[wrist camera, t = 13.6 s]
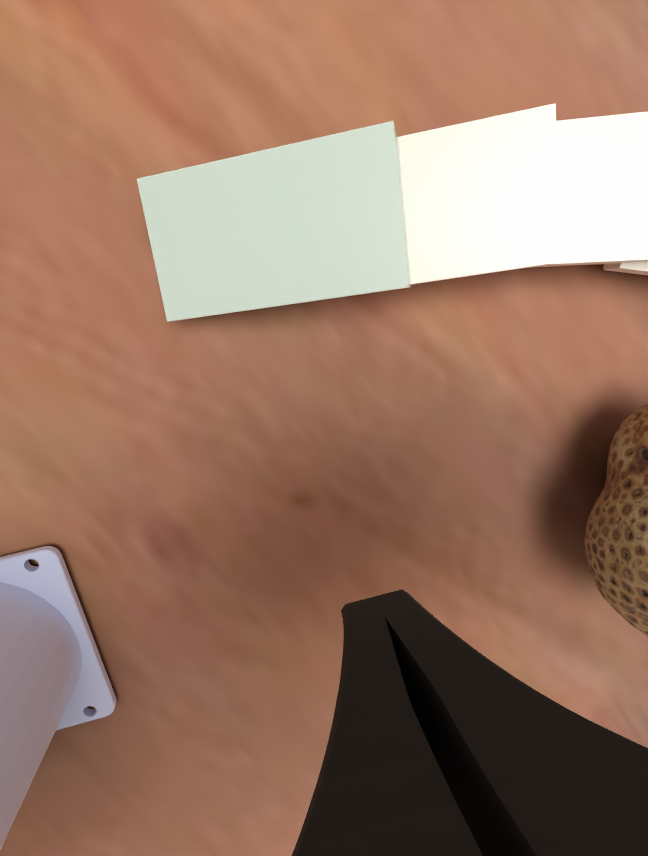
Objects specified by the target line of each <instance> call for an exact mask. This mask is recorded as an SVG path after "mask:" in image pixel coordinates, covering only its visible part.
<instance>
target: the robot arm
mask: <svg viewBox="0 0 648 856" xmlns="http://www.w3.org/2000/svg"><path fill="white" fill-rule="evenodd" d="M29 559H34V560H36V561H37V562H38V563H39V566H33V565H31V564H30V563H29ZM341 612H342V617H343V624H344V645H343V659H342V668H341V677H340V685H339V691H338V696H337V702H336V707H335V713H334V718H333V723H332V728H331V732H330V736H329V741H328V745H327V749H326V753H325V756H324V760H323V764H322V767H321V771H320V774H319V778H318V781H317V784H316V787H315V791H314V794H313V797H312V800H311V803H310V806H309V809H308V812H307V815H306V818H305V821H304V824H303V827H302V830H301V833H300V835H299V838H298V841H297V844H296V846H295V849H294V851H293V854H292V856H648V748H646V747H644V746H641V745H639V744H637V743H635V742H633V741H631V740H629V739H627V738H625V737H623V736H621V735H618V734H616V733H614V732H612V731H610V730H608V729H606V728H604V727H602V726H600V725H598V724H595V723H593V722H591V721H589V720H587V719H586V718H584V717H582V716H580V715H578V714H576V713H574V712H572V711H570V710H568V709H567V708H565V707H563V706H561V705H560V704H558V703H556V702H554V701H553V700H551V699H549V698H548V697H546V696H544V695H542V694H541V693H539V692H537V691H536V690H534V689H533V688H531V687H529V686H528V685H526V684H525V683H523V682H521V681H520V680H518V679H517V678H515V677H514V676H512V675H511V674H509V673H508V672H506V671H505V670H503V669H502V668H500V667H499V666H498V665H496V664H495V663H493V662H492V661H490V660H489V659H487V658H486V657H485V656H483V655H482V654H481V653H479V652H478V651H476V650H475V649H474V648H473V647H471V646H470V645H469V644H467V643H466V642H465V641H463V640H462V639H461V638H460V637H458V636H457V635H456V634H454V633H453V632H452V631H451V630H449V629H448V628H447V627H446V626H444V625H443V624H442V623H441V622H440V621H438V620H437V619H436V618H435V617H434V616H433V615H431V614H430V613H429V612H428V611H427V610H426V609H425V608H423V607H422V606H421V605H420V604H419V603H418V602H417V601H416V600H415V599H414V598H413V597H411V596H410V595H409V594H408V593H407V592H405V591H404V590H398V591H394V592H390V593H387V594H383V595H379V596H375V597H371V598H367V599H364V600H360V601H356V602H352V603H348V604H345V606H344V607H343V608H342V610H341ZM116 703H117V701H116V697H115V694H114V691H113V689H112V686H111V683H110V681H109V678H108V675H107V673H106V670H105V668H104V665H103V662H102V660H101V657H100V654H99V652H98V649H97V646H96V644H95V641H94V639H93V636H92V633H91V631H90V628H89V625H88V623H87V620H86V617H85V615H84V612H83V609H82V607H81V604H80V602H79V599H78V596H77V594H76V591H75V588H74V586H73V583H72V580H71V578H70V575H69V573H68V570H67V567H66V565H65V562H64V559H63V557H62V554H61V553H60V551H59V550H58V549H56V548H55V547H52V546H43V547H39V548H35V549H31V550H27V551H23V552H19V553H14V554H10V555H6V556H2V557H0V850H1V848H2V846H3V844H4V842H5V839H6V837H7V835H8V833H9V831H10V829H11V826H12V824H13V822H14V820H15V818H16V816H17V813H18V811H19V809H20V807H21V805H22V803H23V800H24V798H25V796H26V794H27V792H28V790H29V787H30V785H31V783H32V781H33V779H34V777H35V774H36V772H37V770H38V768H39V766H40V764H41V761H42V759H43V757H44V755H45V753H46V751H47V748H48V746H49V744H50V742H51V740H52V738H53V735H54V733H55V731H56V730H60V729H64V728H67V727H71V726H74V725H78V724H81V723H85V722H88V721H92V720H95V719H99V718H103V717H106V716H108V715H110V714H111V713H112V712H113V711H114V708H115V705H116ZM87 706H92V707H95V709H89V708H88V707H87Z"/></svg>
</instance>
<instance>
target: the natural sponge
mask: <svg viewBox="0 0 648 856" xmlns="http://www.w3.org/2000/svg"><path fill="white" fill-rule="evenodd" d="M584 546H585V552H586V559H587V562H588V565H589V568H590V571H591V573H592V576H593V578H594V580H595V583H596V585H597V587H598V589H599V591H600V593H601V595H602V596H603V598H604V599H605V600H606V601H607V602H608V603H609V604H610V605H611V606H612V607H613V608H614V609H615V610H616V611H617V612H618V613H619V614H620V615H621V616H622V617H623V618H624V619H625V620H626V621H628V622H629V623H630V624H631V625H632V626H634V627H635V628H636V629H638V630H639V631H641V632H642V633H644V634H645V635H647V636H648V405H645V406H643V407H641V408H639V409H638V410H636V411H635V412H634V413H632V414H631V415H629V416H628V417H627V418H626V419H625V420H624V421H623V422H622V424H621V425H620V426H619V428H618V429H617V431H616V433H615V435H614V437H613V440H612V443H611V446H610V449H609V453H608V463H607V478H606V482H605V485H604V489H603V490H602V492H601V494H600V496H599V497H598V499H597V501H596V503H595V504H594V506H593V508H592V511H591V513H590V515H589V518H588V521H587V525H586V529H585V539H584Z"/></svg>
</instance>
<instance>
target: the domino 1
mask: <svg viewBox="0 0 648 856" xmlns="http://www.w3.org/2000/svg"><path fill="white" fill-rule="evenodd" d="M137 182H138V187H139V192H140V196H141V201H142V206H143V210H144V215H145V220H146V224H147V229H148V234H149V239H150V243H151V248H152V253H153V257H154V262H155V267H156V271H157V276H158V281H159V285H160V290H161V295H162V299H163V304H164V309H165V314H166V318H167V322H168V321H176V320H183V319H191V318H198V317H205V316H212V315H219V314H226V313H233V312H240V311H247V310H255V309H262V308H269V307H276V306H283V305H290V304H297V303H304V302H311V301H318V300H325V299H332V298H339V297H346V296H353V295H360V294H367V293H374V292H381V291H388V290H395V289H402V288H409V287H411V284H410V272H409V261H408V249H407V238H406V226H405V215H404V204H403V192H402V181H401V169H400V158H399V146H398V138H397V134H396V130H395V125H394V121H390V122H386V123H381V124H377V125H372V126H368V127H364V128H359V129H355V130H350V131H346V132H342V133H337V134H333V135H328V136H324V137H319V138H315V139H311V140H306V141H302V142H297V143H293V144H289V145H284V146H280V147H275V148H271V149H266V150H262V151H258V152H253V153H249V154H244V155H240V156H236V157H231V158H227V159H222V160H218V161H213V162H209V163H205V164H200V165H196V166H191V167H187V168H183V169H178V170H174V171H169V172H165V173H161V174H156V175H152V176H147V177H143V178H138V179H137Z"/></svg>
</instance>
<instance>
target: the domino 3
mask: <svg viewBox="0 0 648 856" xmlns="http://www.w3.org/2000/svg"><path fill="white" fill-rule="evenodd" d="M556 147H557V206H558V263H553V264H547V265H541V266H535V267H550V266H571V265H593V264H614V263H635V262H648V112H639V113H629V114H619V115H610V116H600V117H590V118H580V119H570V120H560V121H556ZM528 268H529V267H528Z"/></svg>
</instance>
